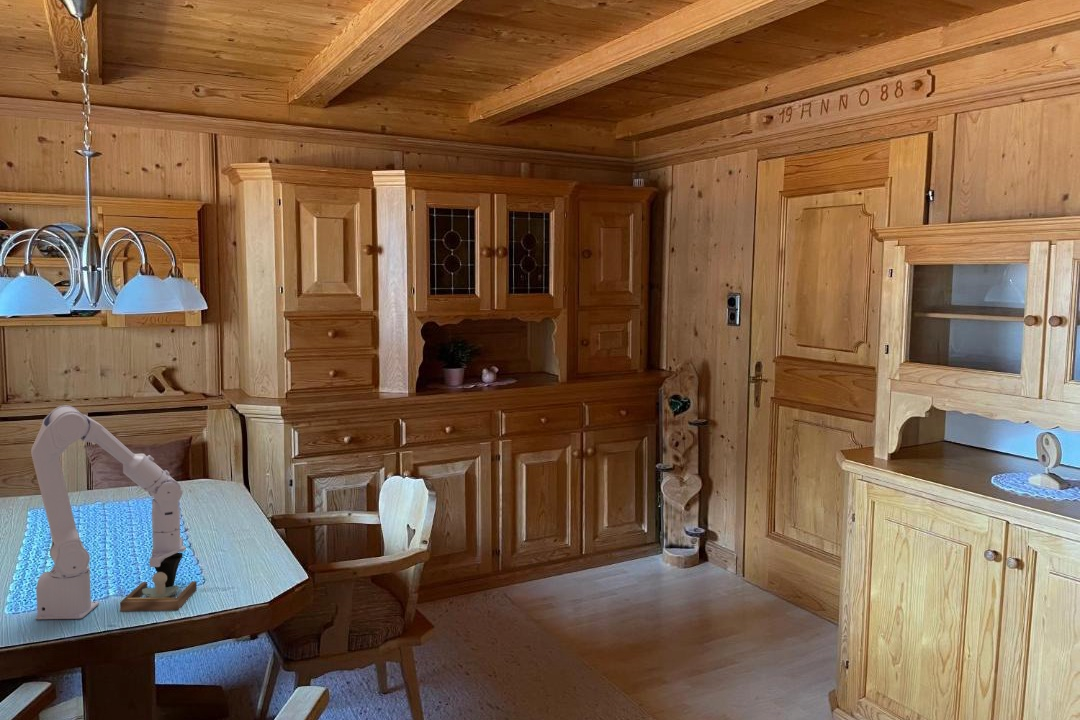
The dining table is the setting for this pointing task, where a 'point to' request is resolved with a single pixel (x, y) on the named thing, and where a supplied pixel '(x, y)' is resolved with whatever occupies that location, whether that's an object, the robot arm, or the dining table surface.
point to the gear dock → (155, 600)
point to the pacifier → (160, 587)
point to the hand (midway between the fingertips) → (168, 586)
